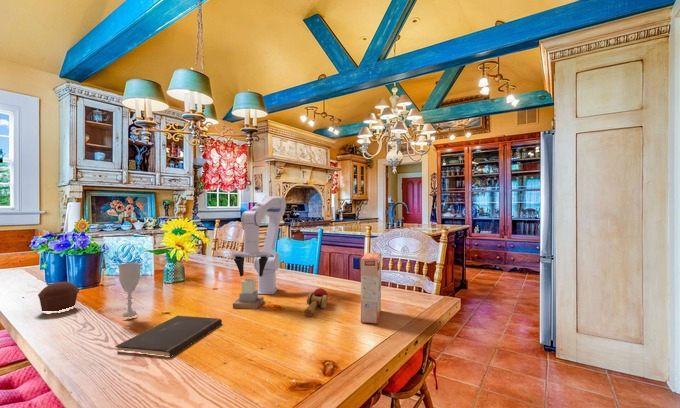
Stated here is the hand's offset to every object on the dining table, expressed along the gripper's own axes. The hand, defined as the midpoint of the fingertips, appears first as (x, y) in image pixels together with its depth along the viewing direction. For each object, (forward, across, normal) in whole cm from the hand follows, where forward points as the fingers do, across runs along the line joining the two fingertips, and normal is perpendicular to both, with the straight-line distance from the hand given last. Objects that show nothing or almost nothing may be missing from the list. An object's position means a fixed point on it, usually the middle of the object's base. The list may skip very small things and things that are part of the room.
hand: (251, 276), depth 123 cm
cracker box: (+11, +46, -15) cm, 50 cm away
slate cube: (+8, 0, -3) cm, 9 cm away
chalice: (+11, -36, -18) cm, 42 cm away
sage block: (+6, 0, -3) cm, 6 cm away
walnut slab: (+11, 0, -3) cm, 11 cm away
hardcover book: (+11, -12, -33) cm, 37 cm away
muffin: (+11, -67, -11) cm, 69 cm away
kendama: (+11, +26, -7) cm, 29 cm away
